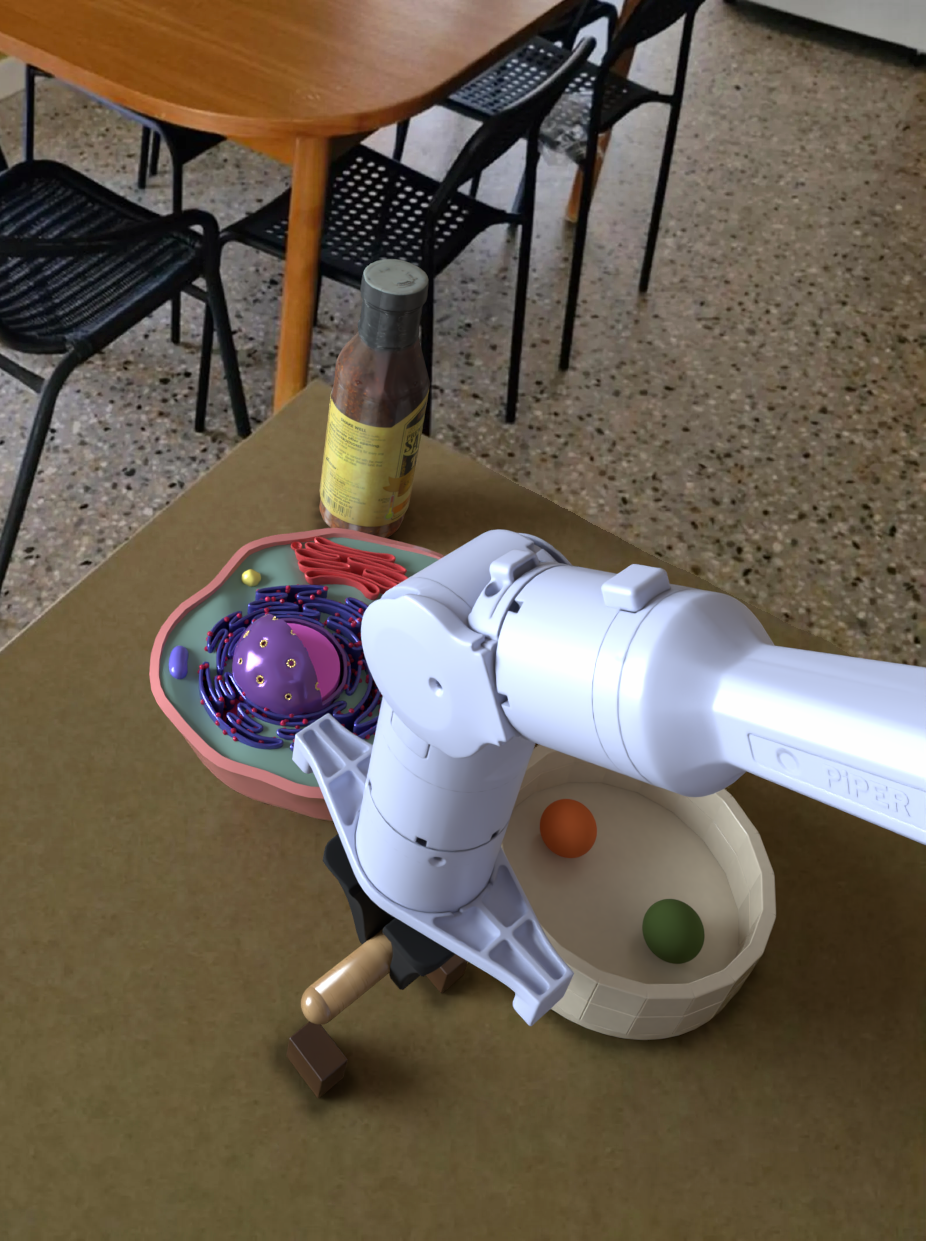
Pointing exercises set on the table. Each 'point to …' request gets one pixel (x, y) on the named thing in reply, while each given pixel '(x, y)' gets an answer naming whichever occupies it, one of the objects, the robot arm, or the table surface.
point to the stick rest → (325, 1059)
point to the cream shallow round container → (641, 895)
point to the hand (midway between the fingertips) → (396, 953)
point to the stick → (347, 980)
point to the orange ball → (568, 828)
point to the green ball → (673, 931)
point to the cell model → (278, 656)
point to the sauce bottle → (377, 405)
